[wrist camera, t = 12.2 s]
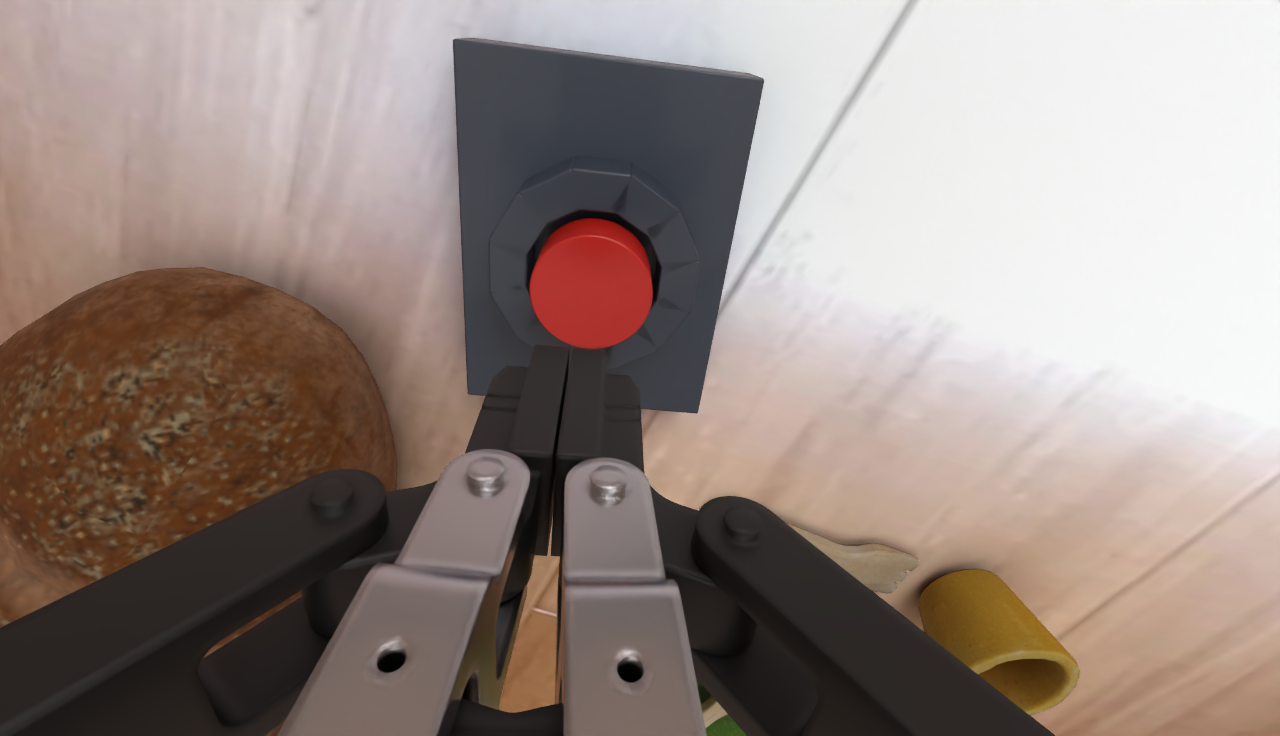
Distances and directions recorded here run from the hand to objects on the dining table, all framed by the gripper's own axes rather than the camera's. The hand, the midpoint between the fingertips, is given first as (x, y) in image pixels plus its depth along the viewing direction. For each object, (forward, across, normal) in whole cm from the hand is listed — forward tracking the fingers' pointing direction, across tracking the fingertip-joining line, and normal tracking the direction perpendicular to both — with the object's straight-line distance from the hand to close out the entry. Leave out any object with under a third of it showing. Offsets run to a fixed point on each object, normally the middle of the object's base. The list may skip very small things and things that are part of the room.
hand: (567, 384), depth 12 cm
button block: (+10, 0, 0) cm, 11 cm away
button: (+7, 0, 0) cm, 7 cm away
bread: (+11, +17, +16) cm, 26 cm away
